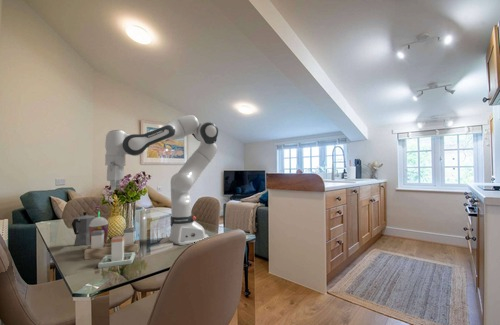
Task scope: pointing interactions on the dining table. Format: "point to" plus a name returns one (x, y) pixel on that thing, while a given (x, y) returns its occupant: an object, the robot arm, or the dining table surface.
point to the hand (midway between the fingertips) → (115, 189)
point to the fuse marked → (117, 248)
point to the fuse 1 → (97, 239)
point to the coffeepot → (82, 229)
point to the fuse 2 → (129, 236)
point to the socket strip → (109, 250)
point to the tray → (116, 263)
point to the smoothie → (99, 226)
